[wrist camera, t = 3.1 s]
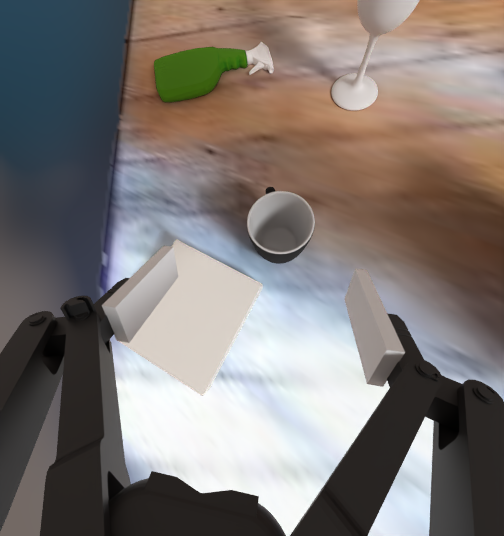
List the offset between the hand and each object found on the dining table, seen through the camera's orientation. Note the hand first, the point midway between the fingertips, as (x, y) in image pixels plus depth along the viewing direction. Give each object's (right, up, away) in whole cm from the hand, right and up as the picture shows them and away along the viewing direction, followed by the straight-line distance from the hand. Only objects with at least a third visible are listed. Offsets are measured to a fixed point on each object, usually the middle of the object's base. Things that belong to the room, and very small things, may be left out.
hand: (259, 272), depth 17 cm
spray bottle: (-9, +42, +33) cm, 54 cm away
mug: (+4, +6, +24) cm, 25 cm away
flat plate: (-10, -7, +22) cm, 25 cm away
